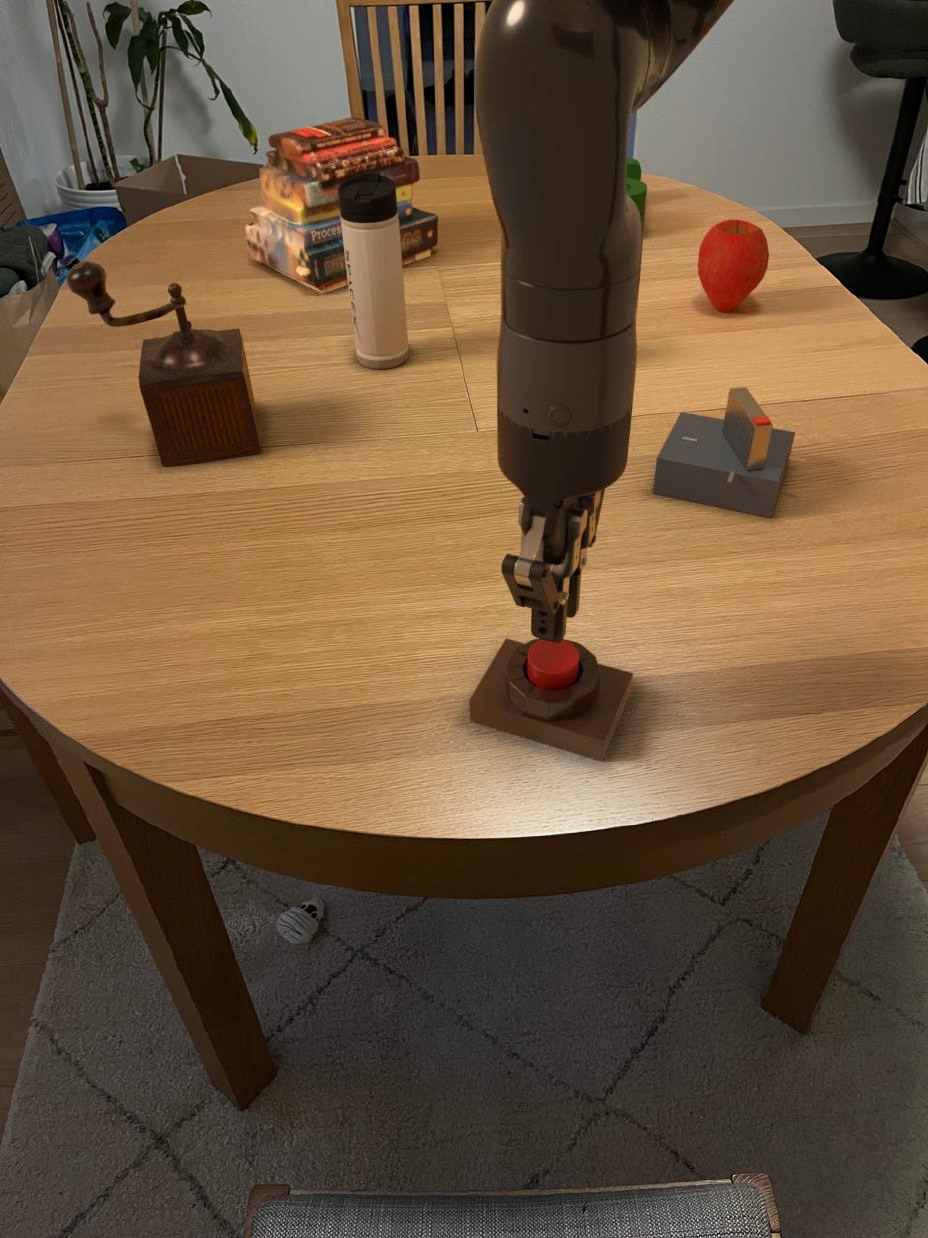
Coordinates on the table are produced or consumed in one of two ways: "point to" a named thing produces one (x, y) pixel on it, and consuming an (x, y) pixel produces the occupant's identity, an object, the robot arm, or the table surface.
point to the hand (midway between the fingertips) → (554, 623)
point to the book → (329, 200)
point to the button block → (552, 702)
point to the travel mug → (374, 269)
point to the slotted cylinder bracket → (636, 186)
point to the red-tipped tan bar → (747, 428)
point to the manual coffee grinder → (185, 379)
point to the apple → (732, 262)
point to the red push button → (553, 664)
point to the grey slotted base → (719, 467)
